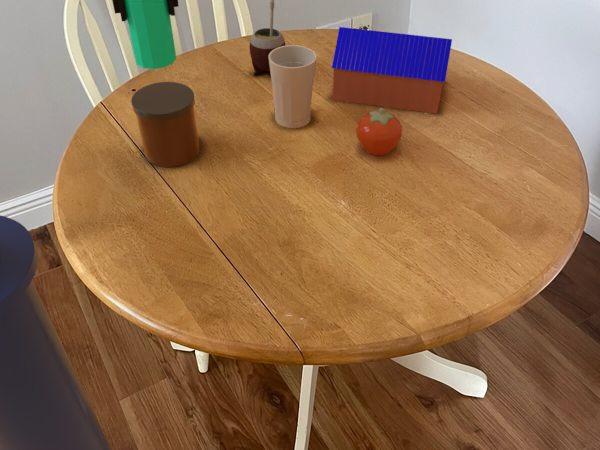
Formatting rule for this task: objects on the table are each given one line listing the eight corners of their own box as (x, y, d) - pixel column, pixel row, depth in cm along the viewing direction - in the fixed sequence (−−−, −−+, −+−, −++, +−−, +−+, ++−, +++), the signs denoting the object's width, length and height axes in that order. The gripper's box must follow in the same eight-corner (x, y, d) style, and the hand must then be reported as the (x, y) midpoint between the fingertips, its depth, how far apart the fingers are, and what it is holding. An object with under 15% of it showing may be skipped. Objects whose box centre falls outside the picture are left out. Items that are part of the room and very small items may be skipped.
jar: (146, 173, 93) (133, 118, 86) (140, 139, 100) (128, 86, 93) (205, 163, 95) (198, 108, 88) (196, 130, 102) (189, 78, 95)
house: (438, 114, 106) (450, 55, 98) (330, 100, 109) (332, 41, 101) (443, 82, 114) (454, 24, 106) (342, 69, 118) (345, 13, 110)
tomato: (389, 133, 101) (394, 93, 96) (406, 158, 96) (412, 117, 91) (348, 140, 100) (351, 99, 94) (363, 166, 95) (367, 124, 89)
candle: (128, 56, 87) (111, -26, 78) (165, 46, 89) (152, -36, 81) (145, 73, 83) (129, -12, 75) (183, 61, 86) (171, -22, 77)
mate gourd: (260, 83, 114) (256, 8, 103) (243, 66, 119) (238, -8, 108) (294, 75, 116) (293, 0, 106) (276, 58, 121) (274, -15, 111)
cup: (261, 117, 105) (258, 55, 97) (294, 101, 109) (294, 40, 101) (291, 136, 101) (290, 73, 93) (324, 119, 105) (326, 57, 96)
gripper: (44, -122, 65) (84, 33, 77) (198, -132, 68) (213, 18, 81) (45, -137, 70) (83, 10, 82) (189, -145, 74) (204, -3, 86)
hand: (147, 13), depth 81 cm, fingers closed on candle, 5 cm apart
